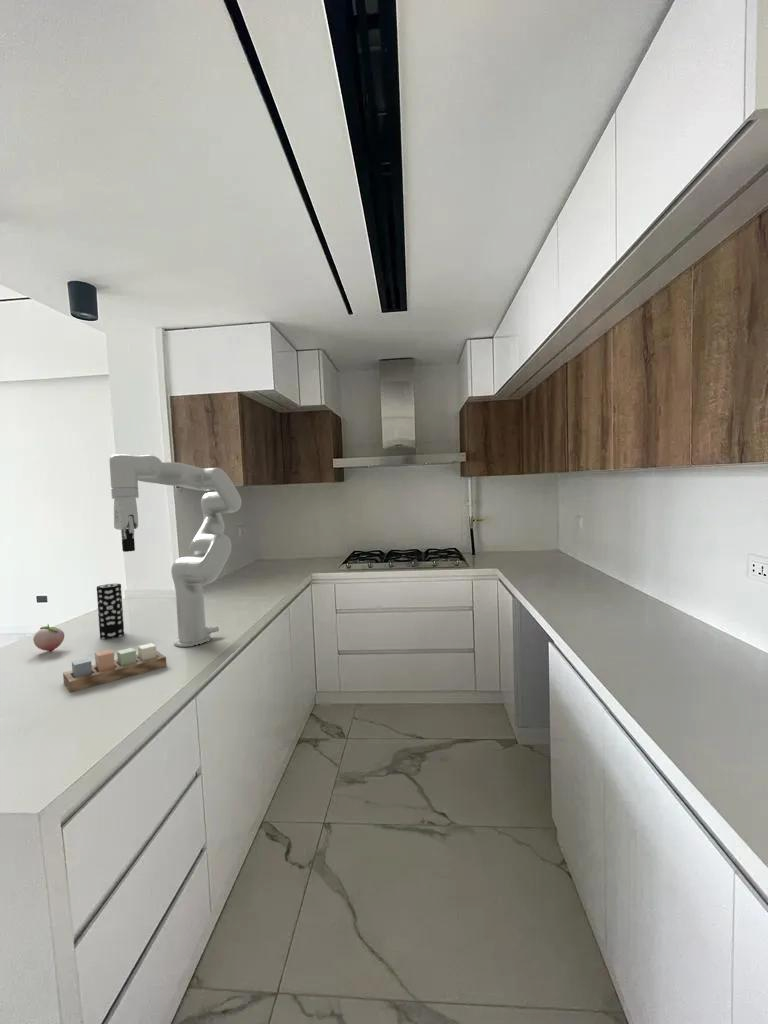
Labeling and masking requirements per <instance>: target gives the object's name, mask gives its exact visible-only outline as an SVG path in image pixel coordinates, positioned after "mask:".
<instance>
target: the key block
mask: <svg viewBox="0 0 768 1024" xmlns="http://www.w3.org/2000/svg"><path fill="white" fill-rule="evenodd" d="M156 653H157V657H155V658H151V659H147V660H143V661H141V660H140V659H139V655H138V653H136V662H135V663H131V664H127V665H123V666H119V665H118V658H116V659H114V662H115V668H111V669H107V670H103V671H99V672H98V671H97V670H96V664H93V665H92V674H88V675H84V676H80V677H76V678H73V673H72V670H68V671H64V672H62V676H63V684H64V685H65V687H66V688H67V689H68V692H69V693H72V692H77V691H80V690H83V689H87V687H88V688H92V687H94V686H99V685H102V684H101V683H103V684H105V682H106V683H110V682H113V680H114V681H116V680H117V679H118V680H120V678H121V679H125V678H128V676H129V677H132V676H136V675H139V674H143V673H146V672H150V671H155V670H157V669H161V668H165V667H167V666H168V665H167V657H166V655H164V654H162V653H161V652H160V651H158V650H157V649H156ZM124 677H125V678H124ZM109 681H110V682H109ZM98 684H99V685H98ZM91 686H92V687H91Z"/></svg>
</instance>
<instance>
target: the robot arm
mask: <svg viewBox="0 0 768 1024" xmlns="http://www.w3.org/2000/svg"><path fill="white" fill-rule="evenodd" d="M108 461H109V472H110V473H109V474H110V487H111V489H110V490H111V500H113V528H114V529H115V530H120V534H121V547H122V552H123V553H127V552H135V550H136V547H135V546H136V545H135V530H136V529H137V528H139V513H138V505H137V499H138V498H139V496H140V495H139V484H138V483H139V482H143V483H149V484H150V483H151V484H159V485H164V486H174V487H180V488H185V489H190V490H195V491H196V490H197V491H208V492H207V493H204V494H203V495H202V496H201V500H200V507H201V511H202V515H203V520H202V524H201V526H200V527H199V529H198V530H197V533H196V534H195V536H194V537H193V538H192V540H191V542H190V544H189V547H188V548H189V553H190V556H182V557H179V558H177V559H175V561H174V562H173V563H172V565H171V569H170V570H171V571H170V572H171V578H172V581H173V586H174V588H175V589H174V590H175V600H176V601H175V602H176V603H175V604H176V616H177V617H176V618H177V620H176V621H177V633H178V634H177V636H178V637H177V638H175V639H174V640H173V644H174V646H176V647H181V648H183V647H185V648H186V647H195V646H194V645H196V646H199V645H198V644H200V645H203V644H202V643H204V642H206V643H208V642H209V641H210V640H211V639H210V638H212V637H211V634H213V633H218V632H219V630H220V629H219V628H220V627H219V626H214V627H213V626H210V627H209V626H207V625H206V612H205V610H206V609H205V593H204V589H203V586H202V584H206V585H207V584H211V583H213V582H214V581H216V580H217V578H219V575H220V573H221V572H222V570H223V568H224V566H225V564H226V562H227V561H228V559H229V557H230V554H231V552H232V546H233V545H232V541H231V539H230V537H229V536H227V535H226V534H224V532H225V522H224V519H223V516H222V514H229V513H230V514H233V513H236V512H238V511H239V510H240V509H241V507H242V497H241V495H240V493H239V491H238V490H237V488H236V486H235V485H234V483H233V481H232V480H231V479H230V477H229V476H228V474H227V473H226V472H225V471H224V470H223V469H221V468H220V467H206V468H205V467H204V468H203V467H198V466H196V465H190V464H187V463H182V462H175V461H167V462H166V461H165V462H162V460H161V459H160V458H159V457H157V456H156V455H153V454H145V455H142V454H141V455H132V454H112V455H111V456H110V457H109V459H108ZM209 491H210V492H209ZM191 555H192V556H191ZM208 640H209V641H208ZM207 641H208V642H207ZM204 644H205V643H204Z"/></svg>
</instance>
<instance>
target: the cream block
mask: <svg viewBox="0 0 768 1024" xmlns="http://www.w3.org/2000/svg"><path fill="white" fill-rule="evenodd" d="M156 650H157V645H156V644H154V643H152V642H150V643H146V644H141V645H138V646H137V651H138V653H137V654H138V655H139V659H140V660H141V661H143V660H147V659H151V658H155V657H157V653H156Z"/></svg>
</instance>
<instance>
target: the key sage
mask: <svg viewBox="0 0 768 1024" xmlns="http://www.w3.org/2000/svg"><path fill="white" fill-rule="evenodd" d="M116 655H117V656H116V657H117V658H116V659H118V665H119V666H123V665H127V664H131V663H135V662H136V655H137V651H136V649H134V648H133V647H129V648H125V649H120V650H117V651H116Z"/></svg>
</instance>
